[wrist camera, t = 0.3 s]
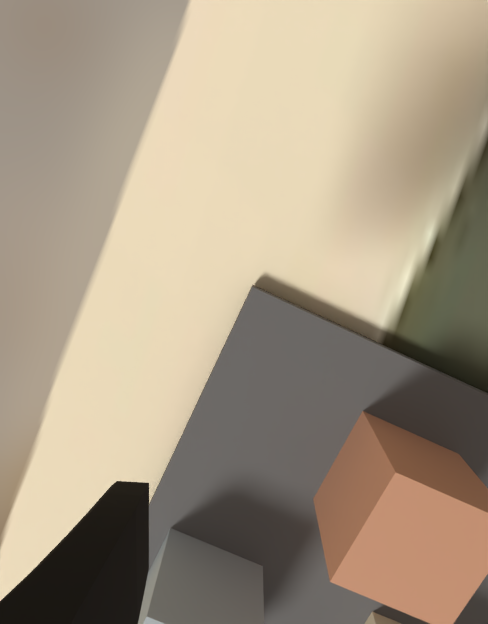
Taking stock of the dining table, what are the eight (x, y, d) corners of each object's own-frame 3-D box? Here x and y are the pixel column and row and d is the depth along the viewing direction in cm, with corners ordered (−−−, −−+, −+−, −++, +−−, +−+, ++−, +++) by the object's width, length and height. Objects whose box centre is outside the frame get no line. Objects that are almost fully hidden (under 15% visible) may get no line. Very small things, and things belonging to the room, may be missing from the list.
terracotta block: (405, 538, 20) (448, 631, 16) (313, 498, 20) (329, 581, 15) (458, 453, 19) (520, 526, 15) (362, 410, 19) (395, 472, 14)
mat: (407, 745, 23) (410, 756, 23) (93, 621, 22) (90, 631, 21) (616, 452, 19) (625, 458, 19) (252, 285, 18) (252, 286, 18)
